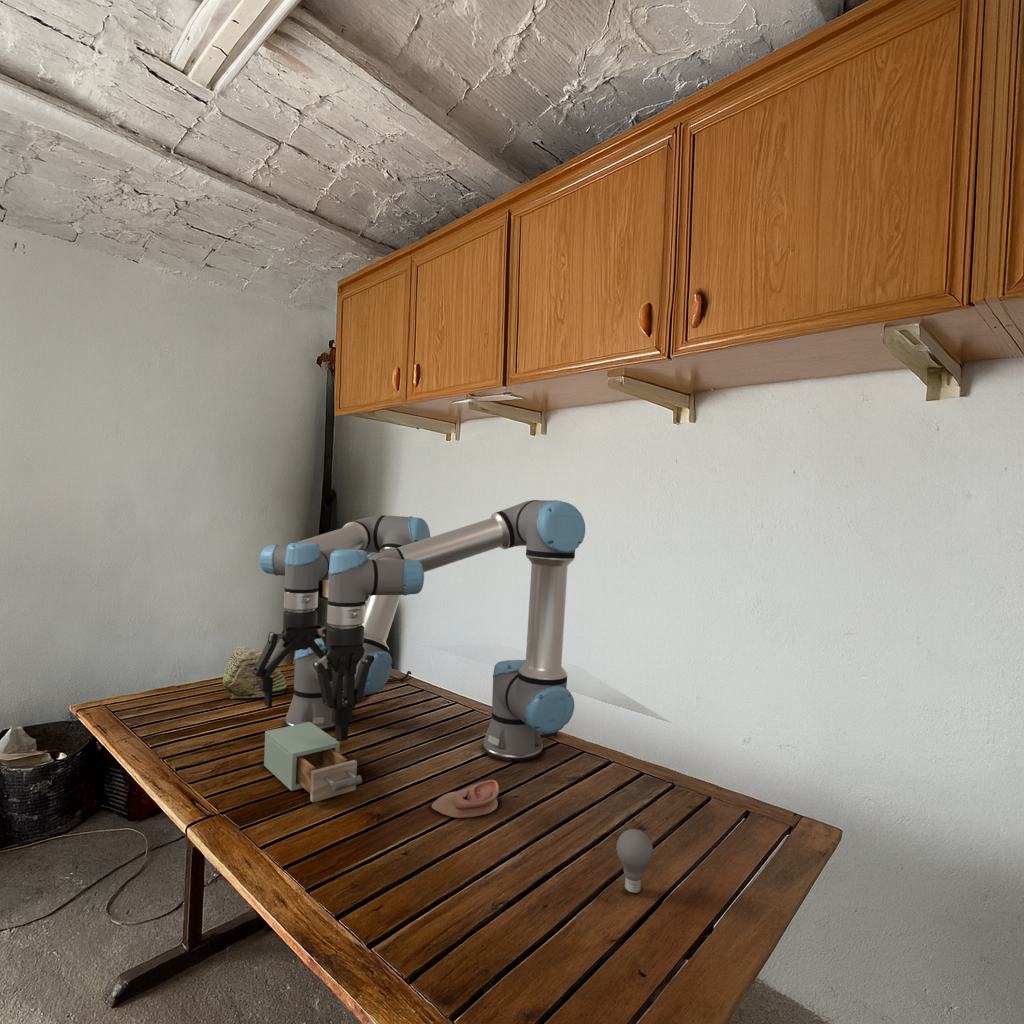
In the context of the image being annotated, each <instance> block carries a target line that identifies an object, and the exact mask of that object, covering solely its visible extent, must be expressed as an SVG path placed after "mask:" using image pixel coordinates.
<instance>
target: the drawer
mask: <svg viewBox="0 0 1024 1024" xmlns="http://www.w3.org/2000/svg"><path fill="white" fill-rule="evenodd" d="M357 772H358V760H356V759H351V760H348V758H346V757H345V756H344V755H342V754H341V753H340V754H339V753H338V752H336V751H335V750H334V749H328V750H324V751H319V752H315V753H311V754H307V755H303V756H299V757H297V765H296V782H298V783H299V784H300V785H301V786H302V787H303V788H302V789H304V790H305V791H306V792H308V793H309V795H310V797H309V801H310V802H311V803H317V802H320V801H323V800H326V799H330V798H334V797H336V796H339V795H343V794H344V795H345V794H347V793H350V792H354V791H357V786H359V785H361V784H362V783H363V777H362V775H360V774H358V773H357ZM357 774H358V775H357Z"/></svg>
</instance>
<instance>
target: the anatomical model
mask: <svg viewBox="0 0 1024 1024" xmlns="http://www.w3.org/2000/svg"><path fill="white" fill-rule="evenodd" d="M499 793H500V786H499V782H498V781H497V780H495V779H489V780H485V781H481V782H478V783H475V784H472V785H470V786H467V787H466V788H463V789H461V790H458V791H451V792H447V793H445V794H443V795H442V796H440V797H438V798H437V799H435V800H434V801H433V803H432V804H431V808H432V810H434V811H436V812H438V813H439V814H442V815H444V816H447V817H451V818H454V819H455V818H457V819H459V818H460V819H461V818H463V819H464V818H474V817H480V816H484V815H487V814H490V813H492V812H494V811H495V810H496V809H498V806H499V805H498V804H499V803H498V802H499V801H498V796H499Z"/></svg>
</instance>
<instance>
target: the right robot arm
mask: <svg viewBox="0 0 1024 1024" xmlns="http://www.w3.org/2000/svg"><path fill="white" fill-rule="evenodd" d="M585 536H586V523H585V519H584V516H583V515H582V513H581V512H580V511H579V509H578V508H577V507H576V506H574V505H573V504H572V503H570V502H566V501H563V500H557V499H555V500H554V499H553V500H550V499H549V500H547V499H546V500H543V499H531V500H526V501H523V502H521V503H518V504H515V505H513V506H510V507H507V508H504V509H502V510H499V511H496V512H493V513H492V514H491V516H490V517H489V518H487V519H483V520H480V521H477V522H474V523H471V524H468V525H465V526H462V527H458V528H456V529H452V530H449V531H446V532H443V533H439V534H435V535H433V536H430V538H427V539H424V540H420V541H417V542H414V543H411V544H408V545H405V546H401V547H398V548H396V549H392V550H389V551H386V552H370V553H369V554H368V552H366V551H364V550H352V549H340V550H335V551H333V552H332V553H331V555H330V564H329V571H328V573H329V579H328V580H327V581H328V582H327V583H328V584H327V607H326V608H327V610H326V611H327V612H326V623H327V624H328V625H327V627H326V628H327V632H326V646H327V647H326V650H325V652H324V657H323V658H321V659H320V660H319V661H314V662H313V667H314V668H315V670H316V671H317V674H318V679H319V684H320V689H321V694H322V699H323V704H324V705H325V706H327V707H329V708H332V723H333V724H335V728H334V739H336V740H337V741H338V742H344V741H348V738H349V723H351V722H352V720H353V709H355V707H356V704H359V703H361V702H362V701H363V699H362V697H363V695H364V694H363V693H364V689H365V685H366V681H367V677H368V673H369V669H370V666H371V664H372V663H373V661H374V656H372V655H369V654H367V653H365V649H364V647H363V642H364V627H363V625H361V624H363V623H364V620H365V606H366V599H367V598H366V597H367V596H369V595H370V596H373V595H401V596H409V595H417V594H420V593H421V592H422V590H423V589H424V588H423V587H424V583H425V573H426V572H430V571H432V570H435V569H438V568H442V567H444V566H447V565H450V564H453V563H456V562H459V561H463V560H465V559H468V558H471V557H474V556H477V555H480V554H483V553H487V552H489V551H492V550H495V549H498V548H501V549H502V550H508V549H512V548H515V547H522V546H523V547H525V556H526V558H527V559H528V561H529V562H530V563H531V564H530V565H531V569H530V585H529V598H528V599H529V600H528V618H527V635H526V651H525V659H510V660H509V659H507V660H506V659H505V660H502V661H498V662H496V664H495V665H494V667H493V672H492V673H493V674H492V698H491V699H492V700H491V701H492V702H491V719H490V721H489V725H488V728H487V731H486V733H485V736H484V739H483V742H482V743H483V747H482V750H483V752H484V753H485V754H486V756H489V757H490V758H492V759H495V760H499V761H502V762H511V763H522V762H528V761H532V760H536V759H538V758H539V757H540V756H542V754H543V747H544V745H543V740H542V739H544V738H551V737H555V736H558V732H559V731H561V730H562V729H563V728H564V727H565V726H566V725H568V723H569V722H570V720H572V717H573V715H574V711H575V699H574V696H573V694H572V693H571V691H570V690H569V689H567V688H568V687H567V686H568V672H567V671H566V670H565V668H564V667H563V666H562V663H563V650H564V649H563V647H564V633H565V632H564V631H565V615H566V600H567V584H568V569H569V565H570V564H571V563H572V562H573V561H575V559H576V550H577V549H578V548H579V547H580V545H581V544H582V543H583V542H584V539H585ZM359 661H361V662H360V664H359V668H358V672H357V676H356V680H355V674H356V666H357V664H358V663H359ZM327 662H328V663H329V665H330V666H331V667H332V674H333V678H332V691H331V686H330V681H329V676H328V672H327V670H326V669H327V668H328V667H327ZM343 677H344V691H343ZM342 704H344V705H342Z"/></svg>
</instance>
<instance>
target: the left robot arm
mask: <svg viewBox="0 0 1024 1024" xmlns="http://www.w3.org/2000/svg"><path fill="white" fill-rule="evenodd" d="M430 537H431V531H430V527H429V525H428V523H427V521H426V520H425V519H424V518H423V517H416V516H412V515H410V516H401V515H400V516H399V515H386V514H385V515H384V514H383V515H382V514H379V515H377V514H376V515H371V516H367V517H363V518H359V519H356V520H352V521H349V522H347V523H345V524H343V526H342V527H341V528H338V529H335V530H331V531H328V532H325V533H322V534H319V535H314V536H313V537H310V538H305V539H303V540H299V541H296V542H291V543H288V544H284V545H280V544H270V545H267V546H265V547H264V548H263V549H262V551H261V553H260V554H259V566H260V568H261V570H262V571H263V573H265V574H268V575H274V576H275V577H276V576H277V577H278V576H282V577H284V593H283V608H284V609H285V610H284V611H283V614H282V615H283V617H282V618H283V619H282V631H281V632H277V633H276V632H273V631H270V632H268V635H267V642H266V644H265V646H264V648H263V652H262V654H261V656H260V658H259V660H258V662H257V663H256V665H255V667H254V669H253V672H252V673H253V674H254V675H256V676H257V677H261V691H262V692H265V695H264V697H263V704H264V705H265V706H266V707H267V708H272V707H273V695H272V691H273V678H272V677H270V675H271V674H272V673H273V672H274V670H275V669H276V668H278V667H279V666H280V664H281V663H282V662H283V660H284V659H285V658H286V656H288V655H289V654H290V653H291V652H292V651H294V653H295V654H294V658H293V660H294V670H293V671H294V672H293V695H292V696H293V697H292V699H291V702H290V704H289V708H288V711H287V713H286V715H285V727H287V726H292V725H297V724H302V723H307V722H311V723H312V724H314V725H315V726H317V727H318V728H320V729H321V730H323V731H324V732H325V731H329V730H332V729H335V724H333V723H332V708H329V707H327V706H325V705H324V704H323V699H322V694H321V689H320V684H319V679H318V674H317V671H316V670H315V668H314V667H313V662H314V661H319V660H320V659H321V658H323V657H324V652H325V650H326V647H327V646H326V632H327V627H326V626H321V627H320V628H317V626H318V610H317V608H318V607H319V584H320V583H319V582H322V581H328V579H329V573H328V571H329V564H330V555H331V553H332V552H333V551H335V550H340V549H352V550H364V551H366V552H367V553H368V552H369V553H375V552H386V551H389V550H392V549H396V548H398V547H401V546H405V545H408V544H411V543H414V542H417V541H420V540H424V539H427V538H430ZM401 596H402V595H373V596H370V595H368V598H367V601H366V602H365V620H364V623H363V624H361V625H363V627H364V642H363V647H364V649H365V653H367V654H369V655H372V656H374V661H373V663H372V664H371V666H370V669H369V673H368V677H367V681H366V685H365V689H364V693H363V697H362V700H364V699H365V698H366V697H367V695H375V694H376V693H378V692H379V691H381V690H382V689H383V688H384V687H385V685H386V684H389V683H397V682H401V681H404V680H406V679H407V678H408V677H409V676H410V675H412V672H411V670H407V672H406V674H405V675H404V676H403V677H399V678H392V679H389V678H390V676H391V673H392V668H393V666H392V664H393V658H392V656H391V654H390V652H389V651H390V647H389V646H388V644H387V639H388V637H389V633H390V630H391V627H392V624H393V622H394V618H395V615H396V612H397V608H398V606H399V603H400V599H401ZM318 636H319V638H317V637H318ZM281 640H282V641H283V642H282V643H281V645H280V646H279V648H278V650H277V651H276V653H275V654H274V655H273V653H274V651H275V649H276V647H277V644H279V642H280V641H281ZM272 655H273V656H272ZM271 657H272V658H271ZM270 658H271V660H270V661H269V659H270ZM268 661H269V663H268ZM360 662H361V661H359V663H358V664H357V666H356V674H355V680H356V676H357V672H358V668H359V664H360ZM267 663H268V664H267ZM327 667H328V668H327V669H326V670H327V672H328V676H329V681H330V686H331V691H332V678H333V674H332V667H331V666H330V665H329V663H328V662H327ZM343 691H344V677H343ZM342 705H344V703H342Z"/></svg>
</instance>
